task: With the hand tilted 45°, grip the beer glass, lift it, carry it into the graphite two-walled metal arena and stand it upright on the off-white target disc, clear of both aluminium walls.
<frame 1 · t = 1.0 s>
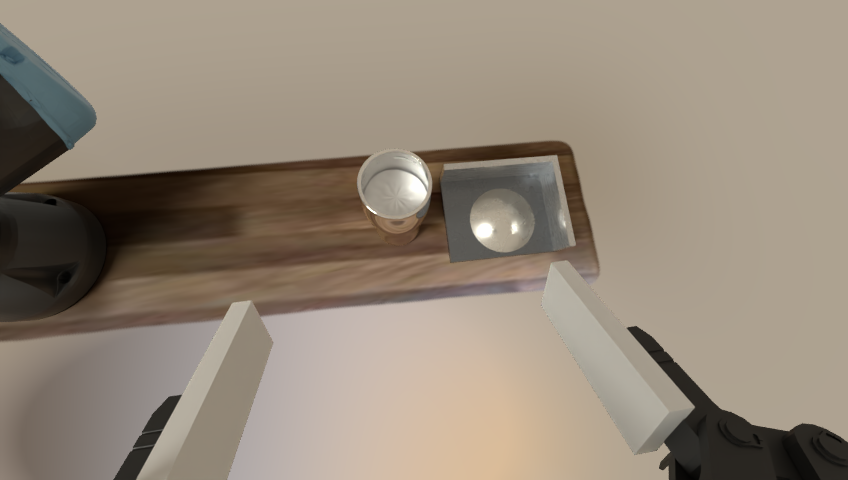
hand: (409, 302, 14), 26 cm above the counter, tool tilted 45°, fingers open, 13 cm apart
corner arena: (500, 221, 42), on the counter
beer glass: (397, 224, 41), on the counter
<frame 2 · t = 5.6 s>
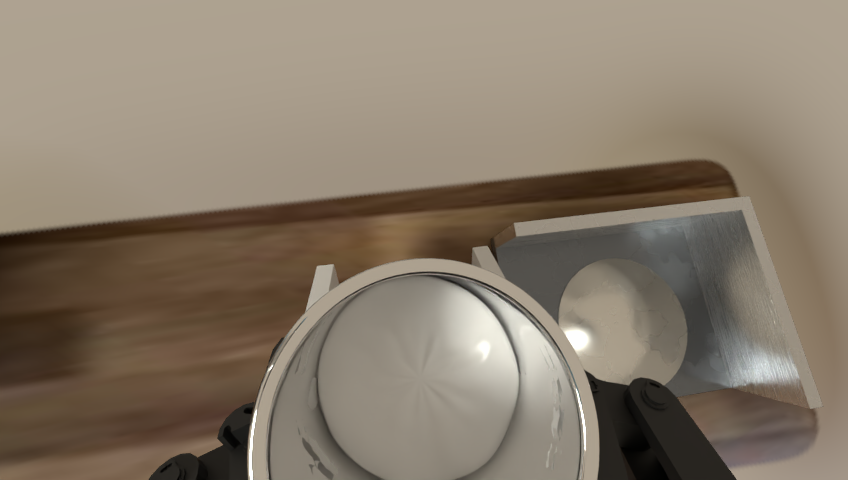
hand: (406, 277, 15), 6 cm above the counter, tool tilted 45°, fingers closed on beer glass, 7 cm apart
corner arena: (614, 323, 21), on the counter
beer glass: (412, 336, 20), on the counter, touching gripper
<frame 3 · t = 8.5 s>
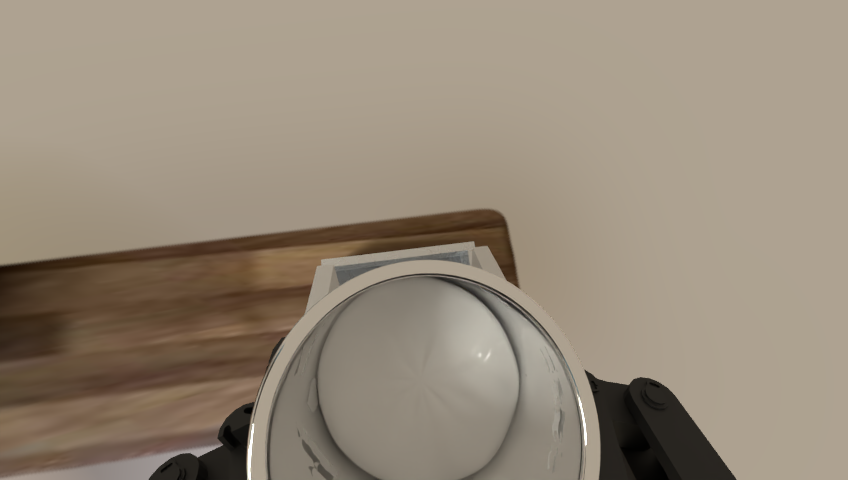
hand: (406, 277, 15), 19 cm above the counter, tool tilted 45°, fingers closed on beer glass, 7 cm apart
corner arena: (410, 319, 33), on the counter
beer glass: (412, 336, 20), point 13 cm above the counter, touching gripper
when the fingers open (8 cm above the counter, at t = 11.4 s): beer glass stays where it is, resting on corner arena.
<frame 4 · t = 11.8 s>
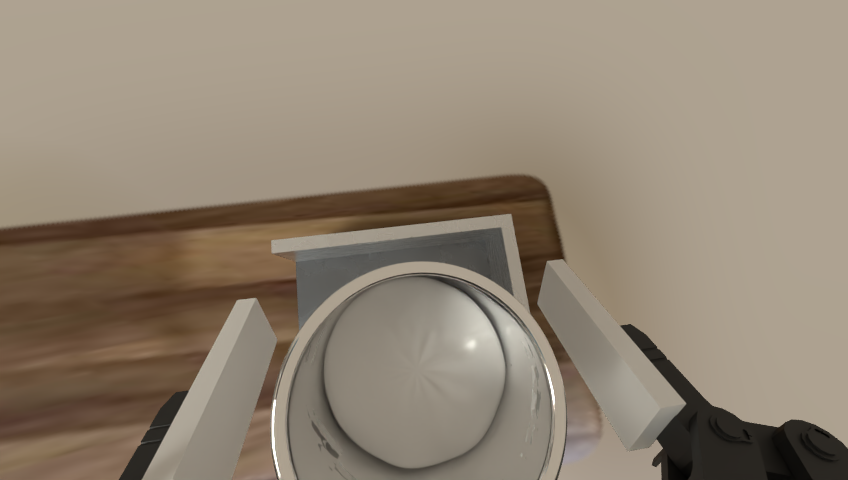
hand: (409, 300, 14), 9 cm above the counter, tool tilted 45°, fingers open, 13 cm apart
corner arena: (412, 333, 22), on the counter
beer glass: (409, 334, 21), point 1 cm above the counter, touching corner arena
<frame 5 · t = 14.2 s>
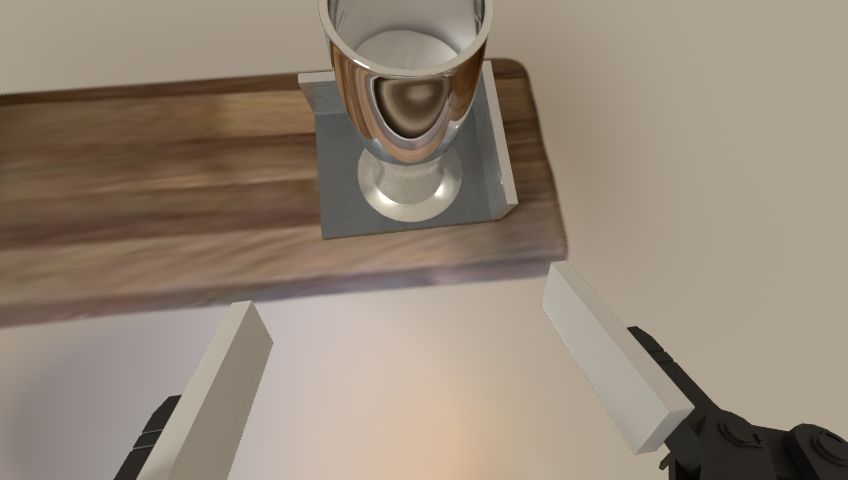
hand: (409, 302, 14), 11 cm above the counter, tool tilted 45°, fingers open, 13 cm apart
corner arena: (410, 175, 27), on the counter
beer glass: (408, 172, 26), point 1 cm above the counter, touching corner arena
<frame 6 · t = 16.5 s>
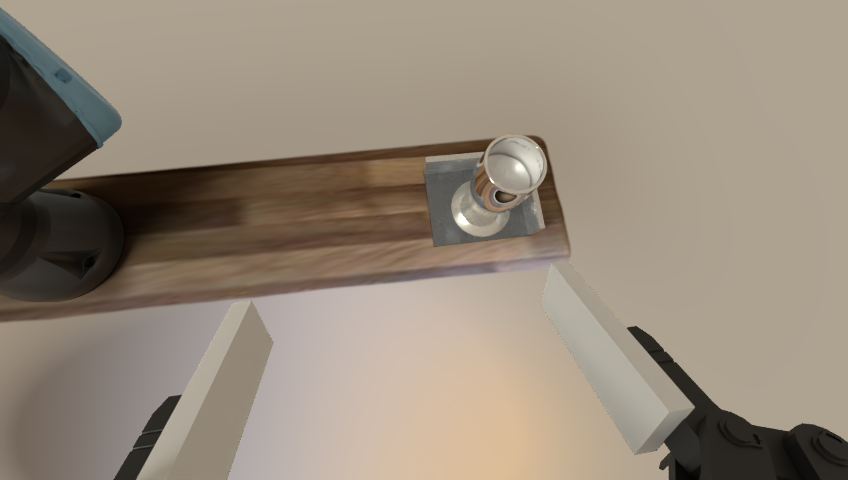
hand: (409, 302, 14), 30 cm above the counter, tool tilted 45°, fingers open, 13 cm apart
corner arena: (479, 209, 46), on the counter
beer glass: (479, 207, 45), point 1 cm above the counter, touching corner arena
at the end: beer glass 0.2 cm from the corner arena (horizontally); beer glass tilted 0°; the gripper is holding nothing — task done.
